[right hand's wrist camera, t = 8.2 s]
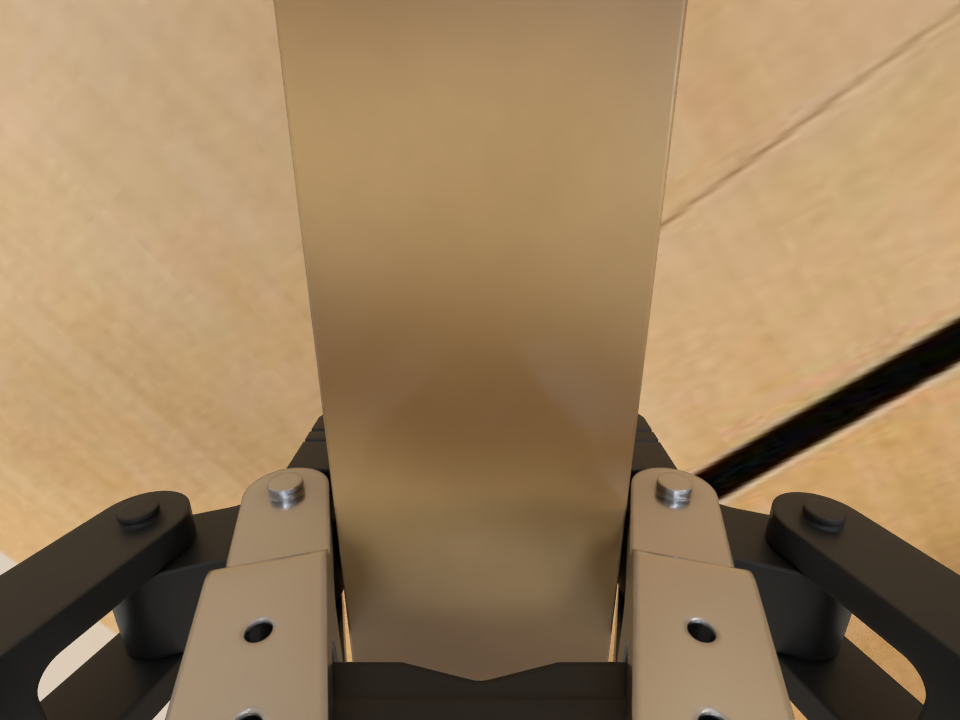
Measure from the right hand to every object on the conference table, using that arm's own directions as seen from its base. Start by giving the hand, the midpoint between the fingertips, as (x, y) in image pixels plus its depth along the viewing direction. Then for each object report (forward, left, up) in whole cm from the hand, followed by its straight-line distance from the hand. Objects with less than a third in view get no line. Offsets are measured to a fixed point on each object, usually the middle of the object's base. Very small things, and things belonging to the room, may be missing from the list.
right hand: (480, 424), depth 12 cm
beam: (+15, -26, -2) cm, 30 cm away
